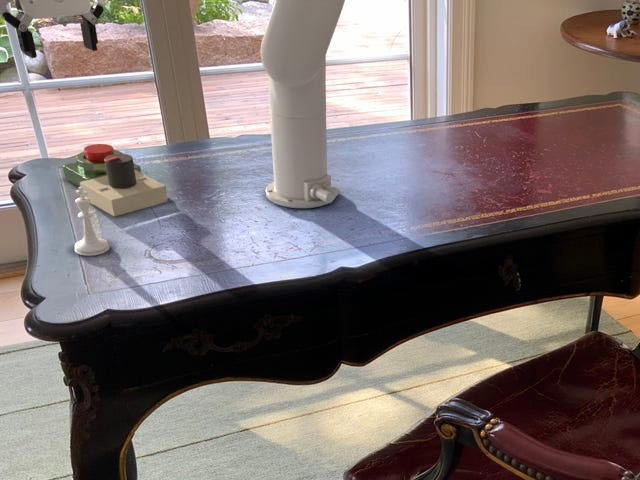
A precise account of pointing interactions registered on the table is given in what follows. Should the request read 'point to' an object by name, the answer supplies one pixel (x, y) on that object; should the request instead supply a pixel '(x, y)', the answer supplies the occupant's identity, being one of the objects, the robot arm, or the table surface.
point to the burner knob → (120, 170)
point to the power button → (98, 152)
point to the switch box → (87, 169)
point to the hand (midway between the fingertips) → (61, 52)
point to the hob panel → (124, 194)
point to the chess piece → (88, 229)
